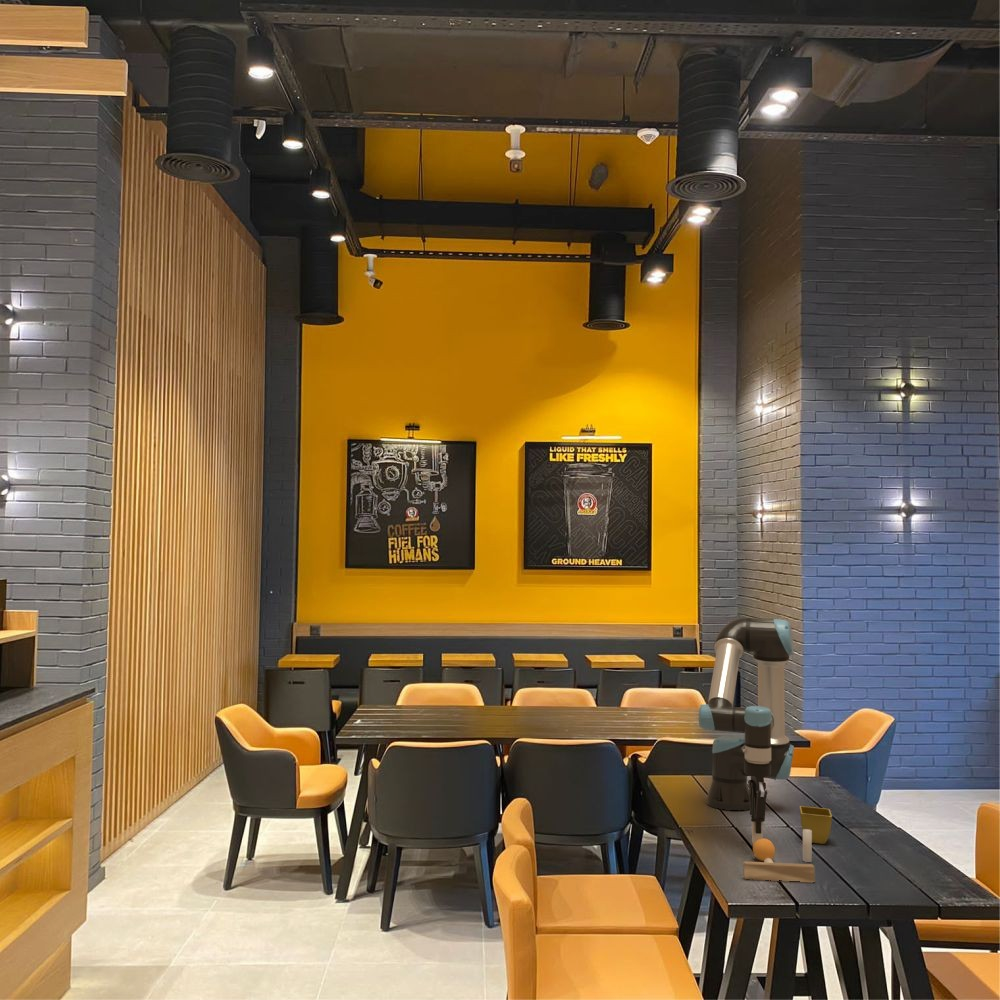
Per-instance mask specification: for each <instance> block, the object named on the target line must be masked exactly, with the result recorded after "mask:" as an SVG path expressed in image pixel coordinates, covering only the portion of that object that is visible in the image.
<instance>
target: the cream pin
mask: <svg viewBox="0 0 1000 1000" xmlns="http://www.w3.org/2000/svg"><path fill="white" fill-rule="evenodd" d="M763 862H767V863H775V862H774V861H773V858H772V859H770V858H766V859H765V860H764V861H763Z"/></svg>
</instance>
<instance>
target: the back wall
mask: <svg viewBox="0 0 1000 1000" xmlns="http://www.w3.org/2000/svg"><path fill="white" fill-rule="evenodd" d="M742 870H743V872H742V873H743V876H744V877H743V878H745V879H751V880H750V881H765V880H769V881H770V880H771V882H780V881H779V880H782V881H781V882H789V881H800V882H799V883H813V882H815V883H816V881H815V879H816V878H815V877H816V874H815V873H816V867H815V865H814V864H812V863H792V862H791V863H788V862H787V863H786V862H784V863H783V862H774V863H767V862H764V861H743V869H742ZM745 879H744V880H745ZM752 879H753V880H752ZM769 881H768V882H769Z"/></svg>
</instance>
